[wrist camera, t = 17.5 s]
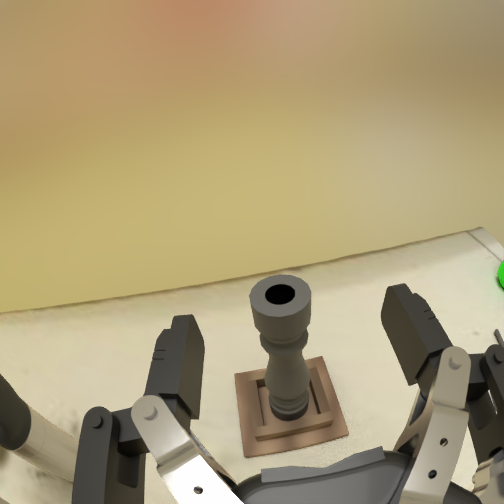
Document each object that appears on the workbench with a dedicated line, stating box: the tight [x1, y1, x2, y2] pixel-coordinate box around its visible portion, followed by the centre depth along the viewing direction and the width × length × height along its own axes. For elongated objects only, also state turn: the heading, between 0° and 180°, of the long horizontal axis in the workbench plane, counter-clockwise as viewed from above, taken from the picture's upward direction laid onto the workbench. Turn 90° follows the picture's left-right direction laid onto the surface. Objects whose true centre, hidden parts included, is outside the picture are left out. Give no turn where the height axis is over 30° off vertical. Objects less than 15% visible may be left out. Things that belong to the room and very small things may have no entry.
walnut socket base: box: [234, 356, 349, 458], centre depth 38 cm, size 16×16×4 cm
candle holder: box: [249, 275, 311, 421], centre depth 31 cm, size 6×6×25 cm
